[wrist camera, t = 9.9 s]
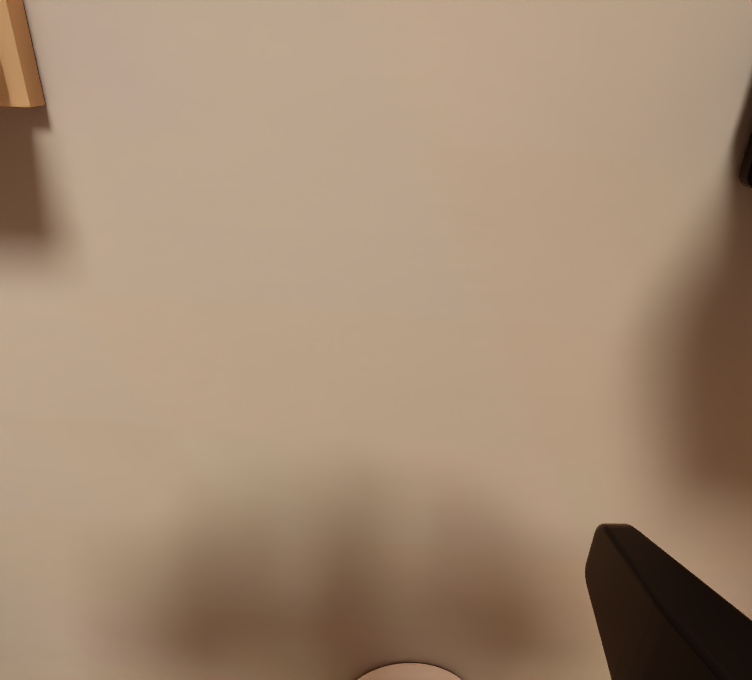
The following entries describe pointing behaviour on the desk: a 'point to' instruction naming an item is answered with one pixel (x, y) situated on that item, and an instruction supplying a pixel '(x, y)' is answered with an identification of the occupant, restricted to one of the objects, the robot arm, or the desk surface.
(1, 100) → the peg frame
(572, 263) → the desk surface
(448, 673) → the cup
